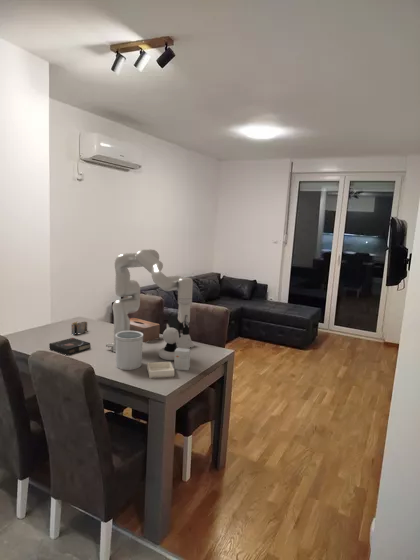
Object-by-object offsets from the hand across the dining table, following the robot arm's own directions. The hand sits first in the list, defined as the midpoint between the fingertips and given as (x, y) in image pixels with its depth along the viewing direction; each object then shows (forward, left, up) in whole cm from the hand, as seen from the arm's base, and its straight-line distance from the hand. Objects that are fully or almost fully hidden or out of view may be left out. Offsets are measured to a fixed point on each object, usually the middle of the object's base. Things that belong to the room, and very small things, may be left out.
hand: (183, 332), depth 200 cm
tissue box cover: (-19, +63, -21) cm, 69 cm away
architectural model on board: (-58, +74, -21) cm, 97 cm away
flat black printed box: (-61, +40, -21) cm, 76 cm away
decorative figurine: (-3, +18, -21) cm, 28 cm away
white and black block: (+6, +35, -21) cm, 41 cm away
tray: (-13, -5, -20) cm, 24 cm away
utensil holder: (-28, +8, -21) cm, 36 cm away
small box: (0, 0, -21) cm, 21 cm away
